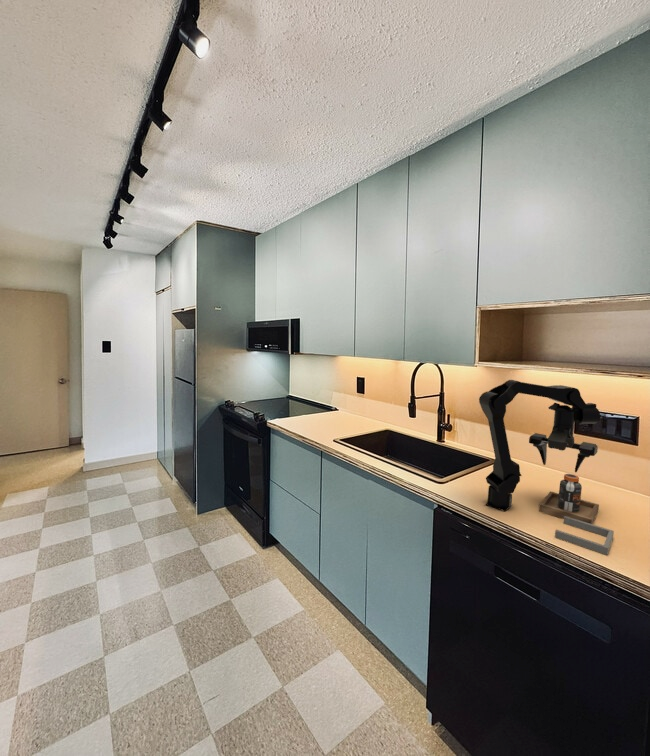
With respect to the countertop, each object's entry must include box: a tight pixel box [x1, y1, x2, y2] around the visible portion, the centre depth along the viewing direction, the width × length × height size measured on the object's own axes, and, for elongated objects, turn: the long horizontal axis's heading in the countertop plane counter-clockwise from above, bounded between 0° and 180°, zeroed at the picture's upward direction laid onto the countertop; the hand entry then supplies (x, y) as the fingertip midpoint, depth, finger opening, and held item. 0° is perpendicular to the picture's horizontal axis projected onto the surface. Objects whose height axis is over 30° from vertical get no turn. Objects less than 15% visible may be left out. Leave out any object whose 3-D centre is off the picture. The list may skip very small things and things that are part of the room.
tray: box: [538, 491, 600, 525], centre depth 118 cm, size 14×14×2 cm
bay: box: [554, 516, 615, 556], centre depth 103 cm, size 12×12×2 cm
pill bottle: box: [558, 473, 583, 512], centre depth 118 cm, size 6×6×11 cm
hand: (559, 468), depth 122 cm, fingers open, 9 cm apart
